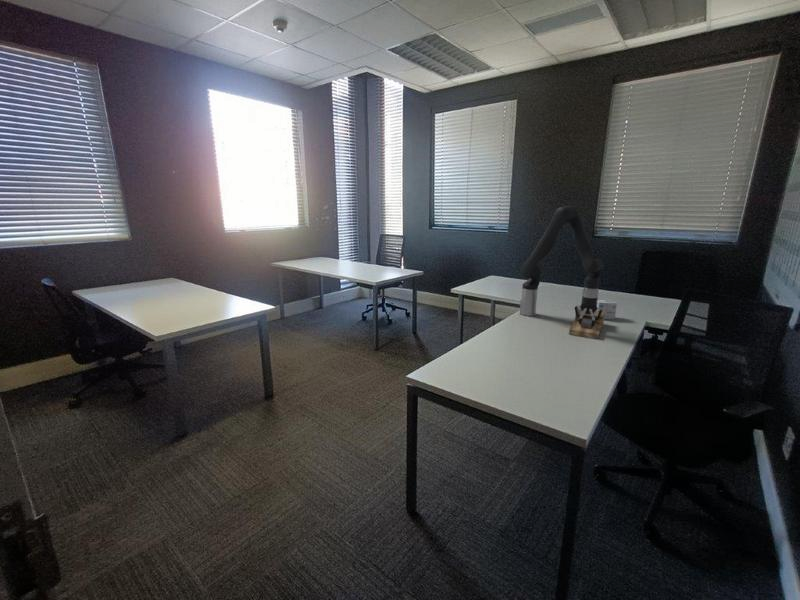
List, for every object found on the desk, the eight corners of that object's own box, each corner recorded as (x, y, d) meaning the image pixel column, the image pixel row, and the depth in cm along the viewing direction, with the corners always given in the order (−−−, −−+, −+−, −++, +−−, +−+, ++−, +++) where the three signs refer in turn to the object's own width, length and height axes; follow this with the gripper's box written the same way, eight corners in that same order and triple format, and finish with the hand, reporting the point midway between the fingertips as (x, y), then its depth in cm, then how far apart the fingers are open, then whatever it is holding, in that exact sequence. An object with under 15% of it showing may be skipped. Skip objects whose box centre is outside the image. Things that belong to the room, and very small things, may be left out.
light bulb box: (610, 316, 230) (612, 299, 227) (615, 319, 223) (617, 302, 220) (592, 316, 231) (594, 299, 228) (597, 319, 224) (599, 302, 221)
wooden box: (568, 334, 199) (570, 321, 197) (577, 320, 223) (578, 308, 222) (597, 339, 192) (599, 326, 190) (603, 323, 216) (604, 312, 214)
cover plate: (580, 327, 201) (581, 322, 200) (584, 320, 213) (584, 315, 212) (590, 328, 199) (591, 323, 198) (593, 321, 210) (594, 316, 209)
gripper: (574, 295, 198) (571, 325, 202) (604, 298, 190) (600, 329, 194) (576, 292, 204) (573, 321, 208) (605, 295, 196) (601, 325, 200)
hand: (586, 325), depth 201 cm, fingers closed on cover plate, 5 cm apart
